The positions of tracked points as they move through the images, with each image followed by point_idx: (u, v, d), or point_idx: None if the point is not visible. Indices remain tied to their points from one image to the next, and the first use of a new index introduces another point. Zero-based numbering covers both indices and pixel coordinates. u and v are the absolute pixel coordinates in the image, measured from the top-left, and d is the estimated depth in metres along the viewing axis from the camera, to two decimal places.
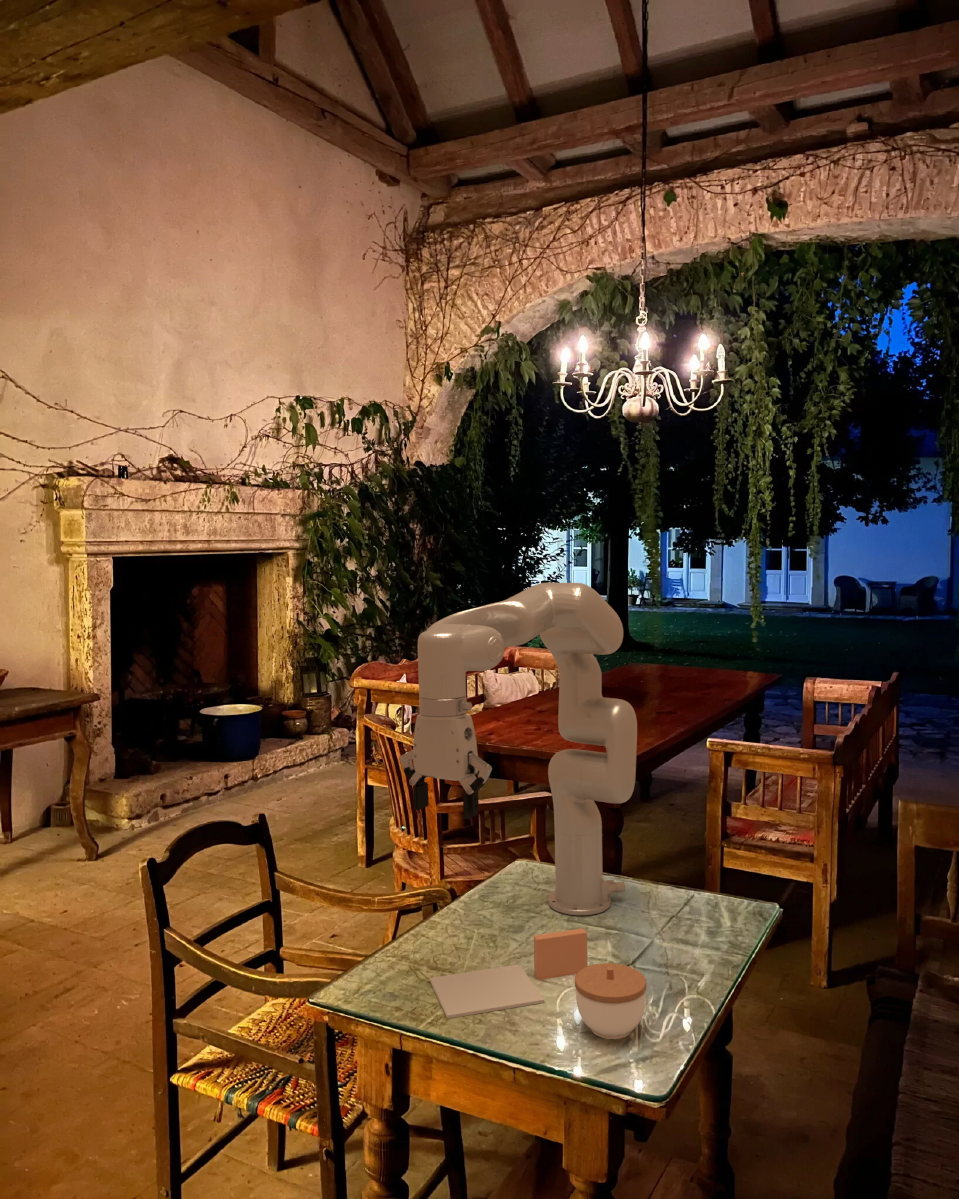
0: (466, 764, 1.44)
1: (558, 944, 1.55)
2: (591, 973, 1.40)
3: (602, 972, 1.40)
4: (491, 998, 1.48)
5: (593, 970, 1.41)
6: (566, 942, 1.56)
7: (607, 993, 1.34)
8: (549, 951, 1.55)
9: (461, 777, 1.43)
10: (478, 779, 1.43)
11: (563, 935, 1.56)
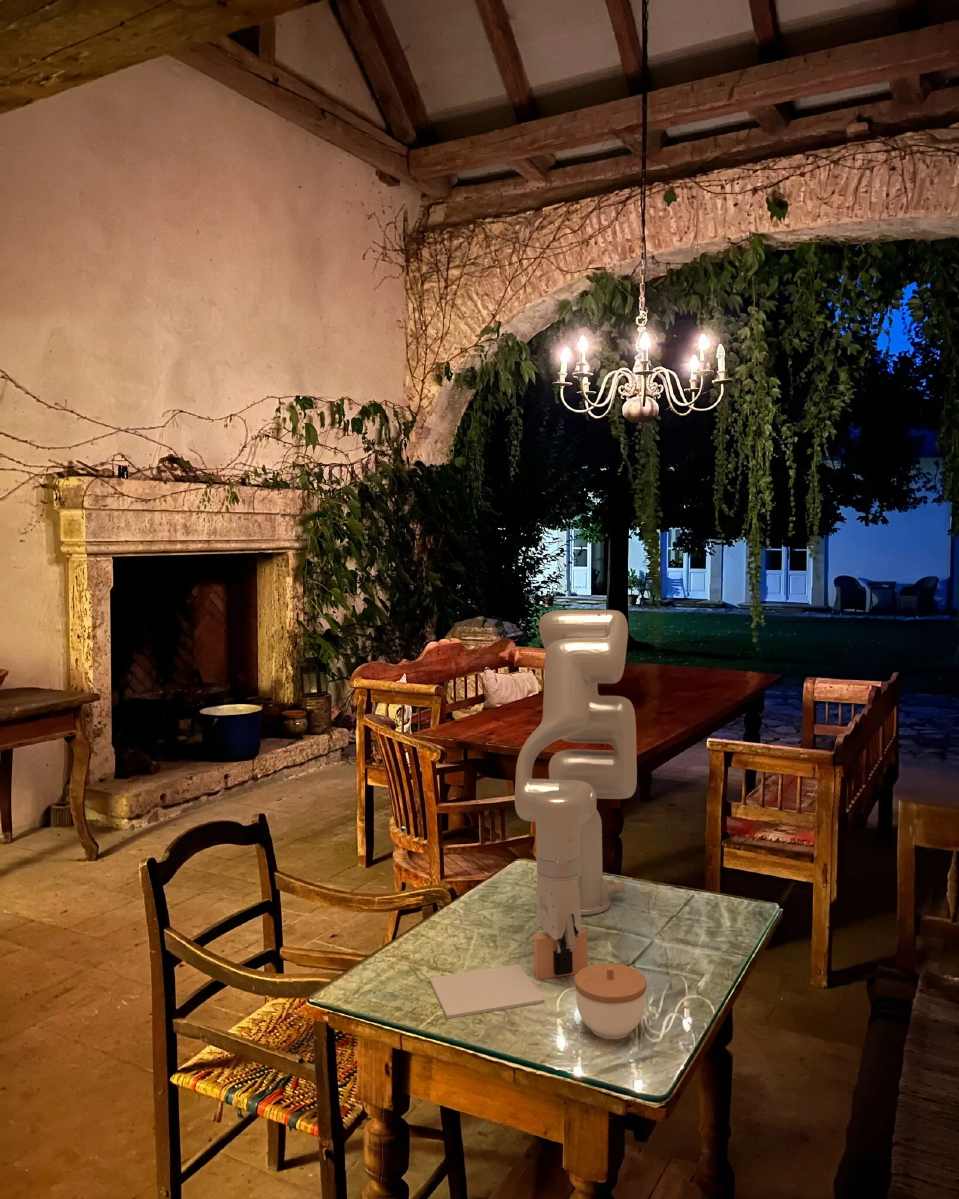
0: None
1: None
2: (591, 973, 1.40)
3: (602, 972, 1.40)
4: (491, 998, 1.48)
5: (593, 970, 1.41)
6: None
7: (607, 993, 1.34)
8: (549, 951, 1.55)
9: None
10: None
11: None
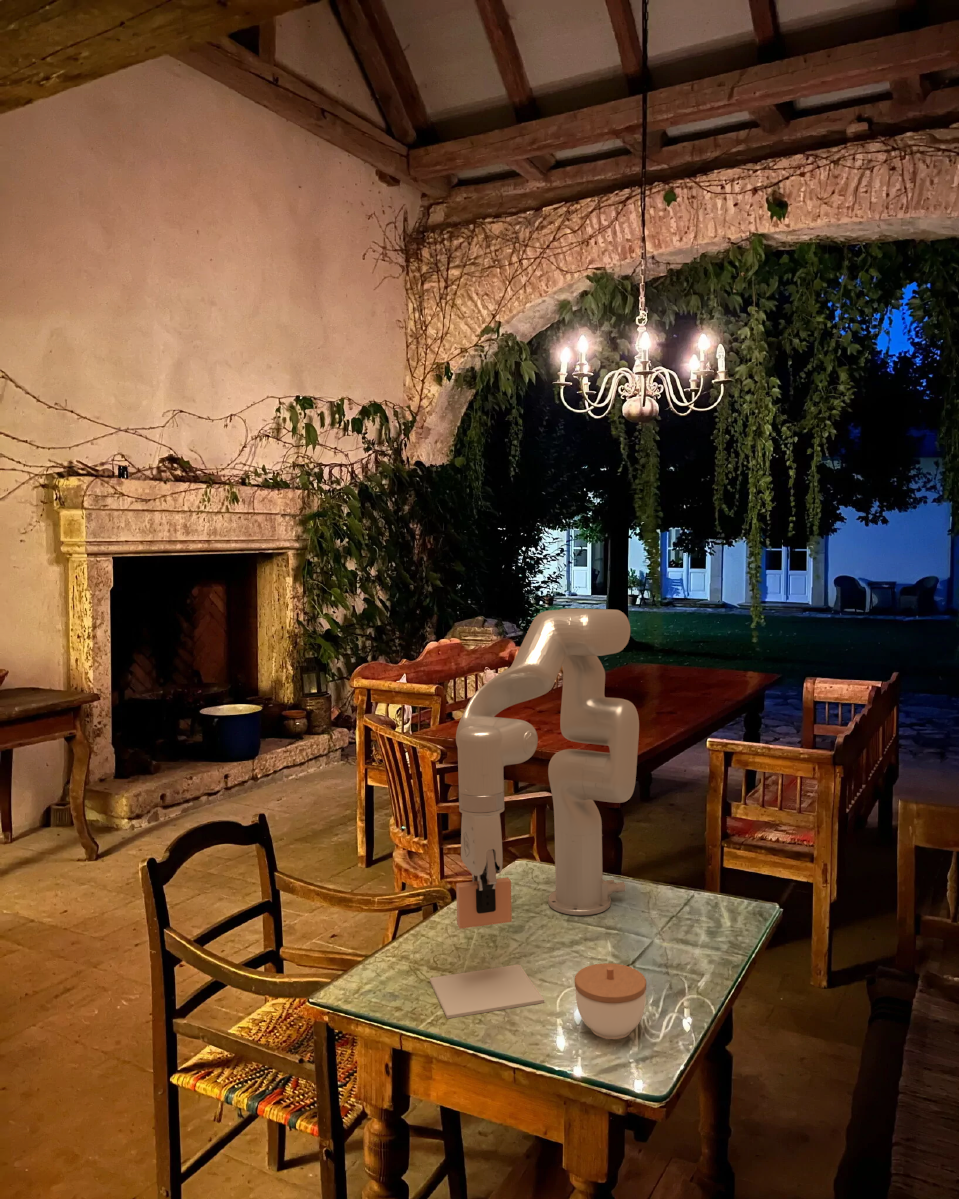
0: None
1: None
2: (591, 973, 1.40)
3: (602, 972, 1.40)
4: (491, 998, 1.48)
5: (593, 970, 1.41)
6: None
7: (607, 993, 1.34)
8: (472, 899, 1.52)
9: None
10: None
11: None
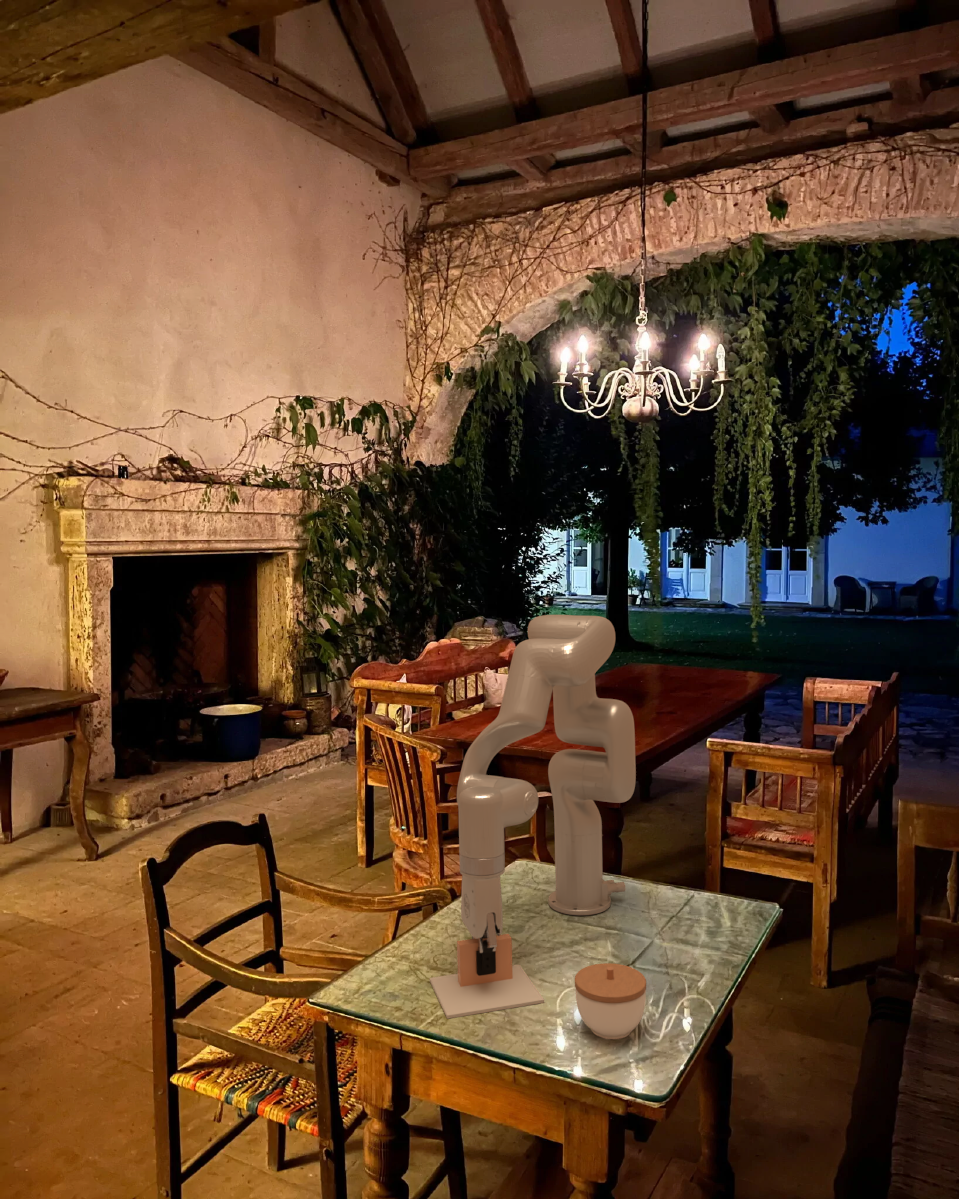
0: None
1: None
2: (591, 973, 1.40)
3: (602, 972, 1.40)
4: (491, 998, 1.48)
5: (593, 970, 1.41)
6: None
7: (607, 993, 1.34)
8: (472, 957, 1.52)
9: None
10: None
11: None
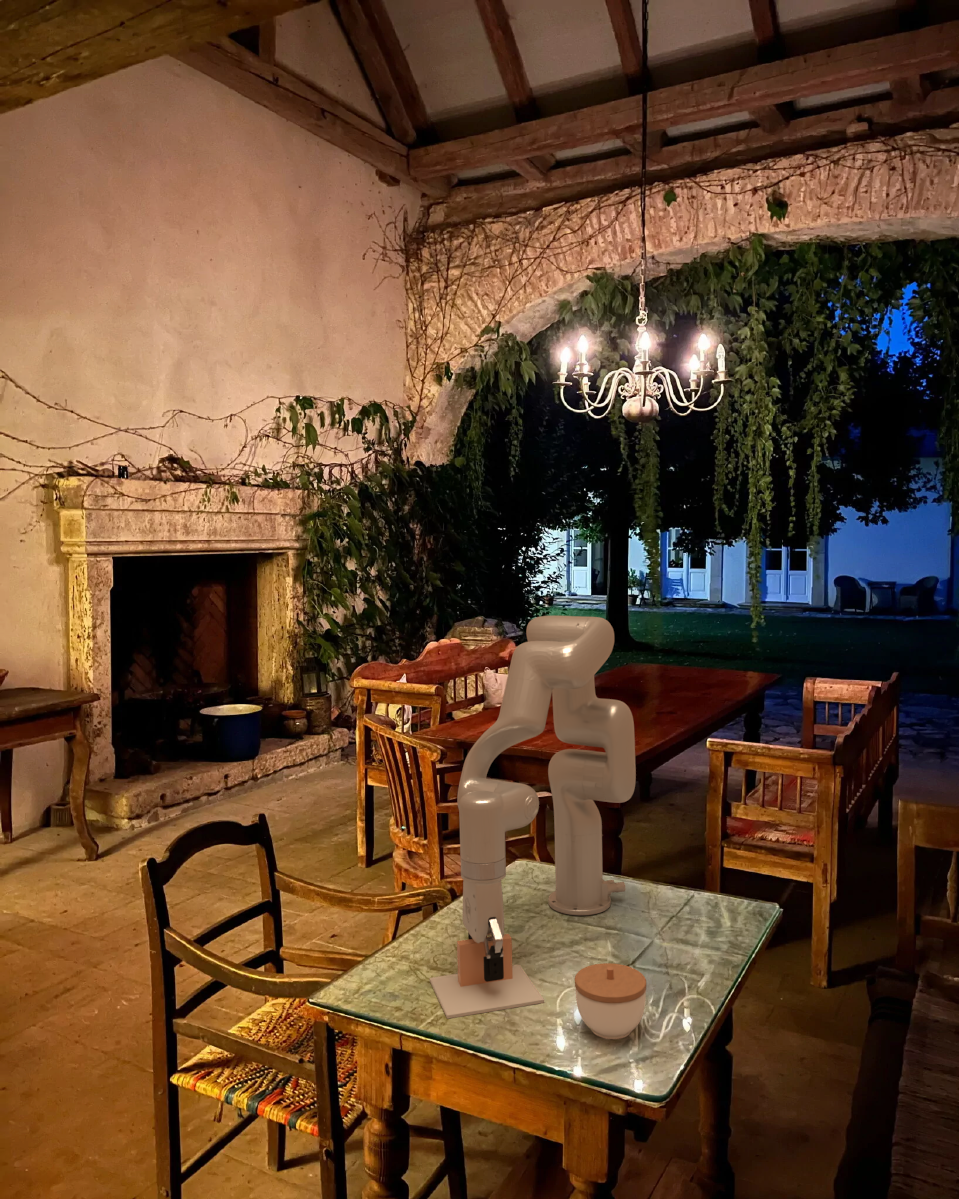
0: None
1: (481, 949, 1.53)
2: (591, 973, 1.40)
3: (602, 972, 1.40)
4: (491, 998, 1.48)
5: (593, 970, 1.41)
6: None
7: (607, 993, 1.34)
8: (472, 957, 1.52)
9: None
10: None
11: None
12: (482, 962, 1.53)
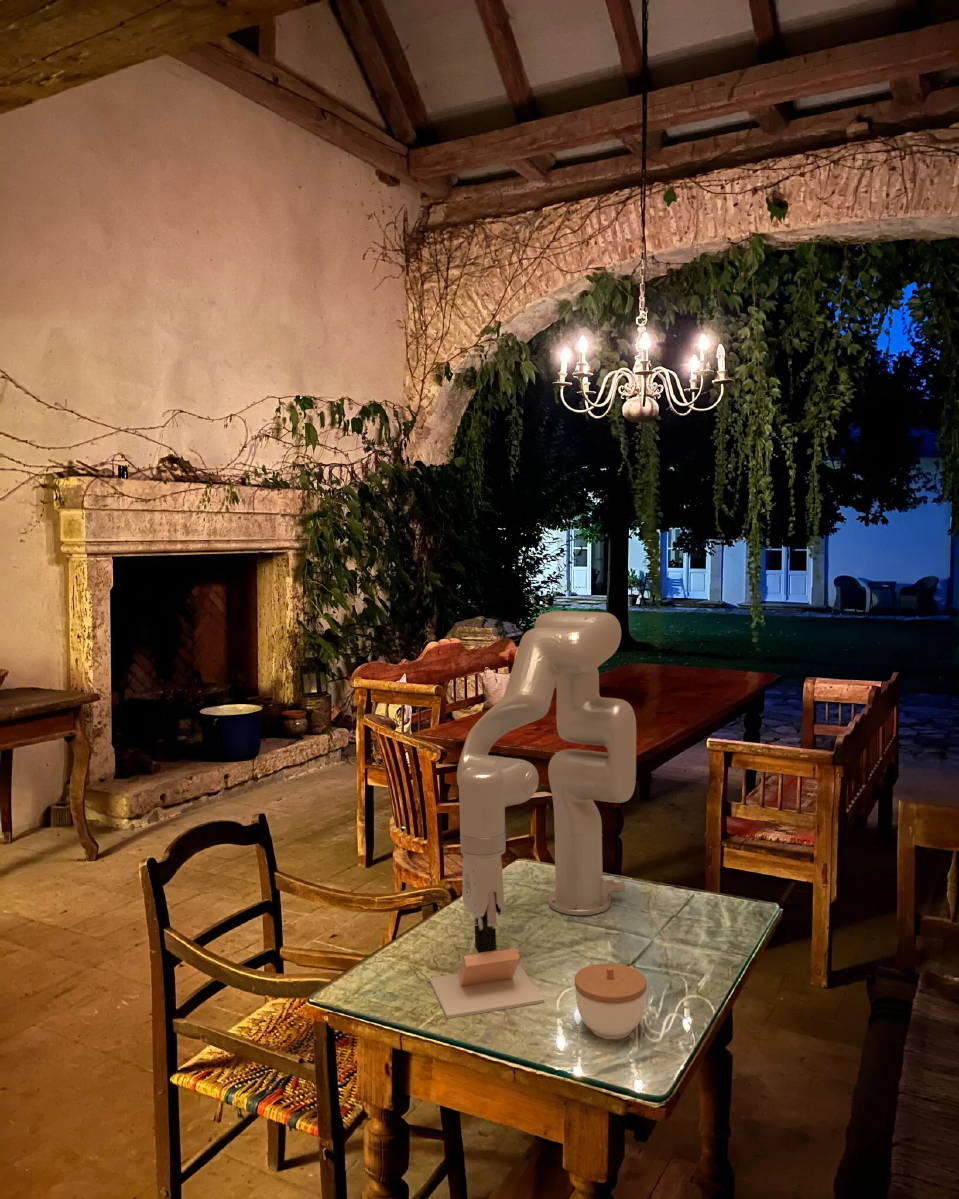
0: None
1: (487, 966, 1.49)
2: (591, 973, 1.40)
3: (602, 972, 1.40)
4: (491, 998, 1.48)
5: (593, 970, 1.41)
6: (496, 965, 1.50)
7: (607, 993, 1.34)
8: (477, 971, 1.50)
9: None
10: None
11: (495, 961, 1.49)
12: (486, 973, 1.51)
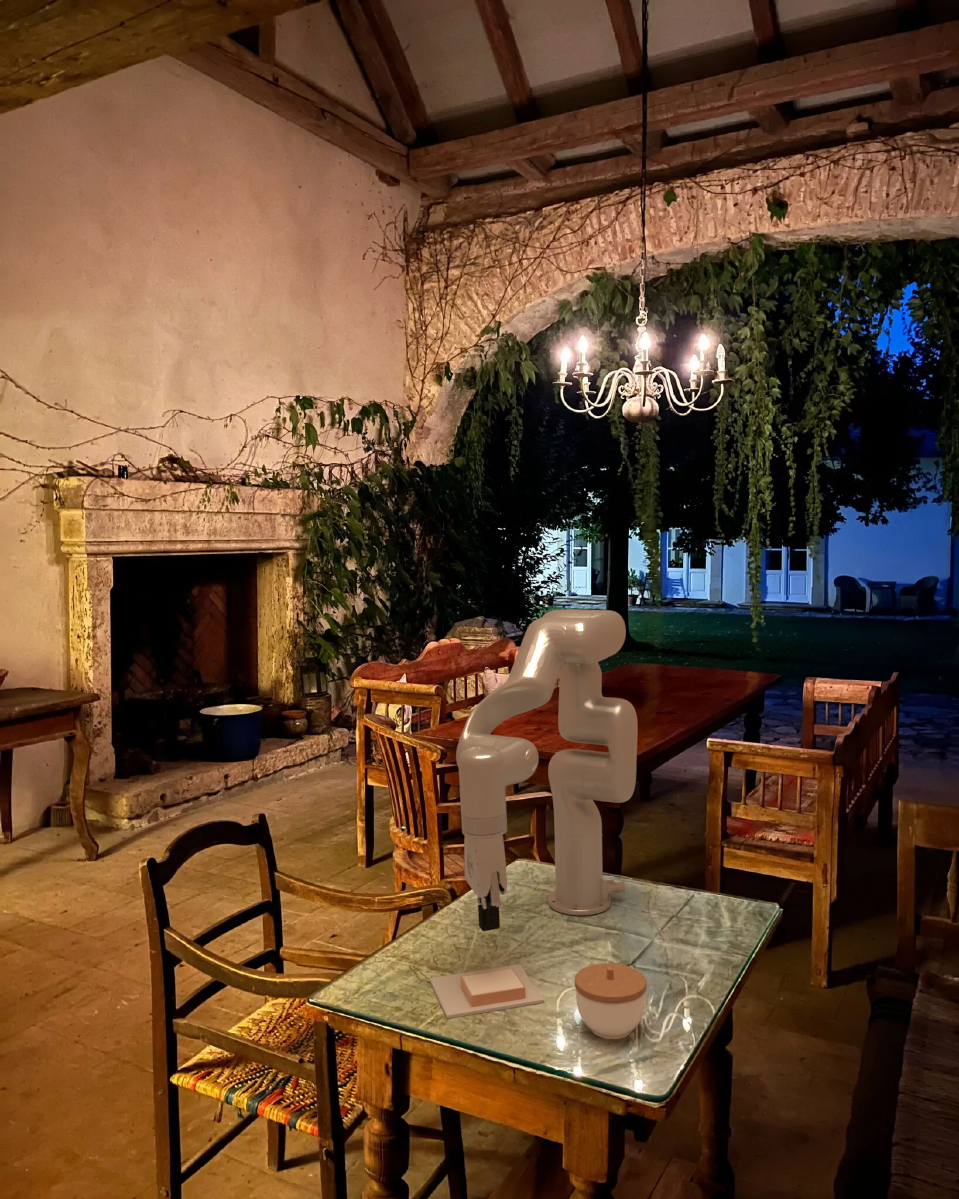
0: None
1: None
2: (591, 973, 1.40)
3: (602, 972, 1.40)
4: None
5: (593, 970, 1.41)
6: None
7: (607, 993, 1.34)
8: None
9: None
10: None
11: (500, 1002, 1.47)
12: None
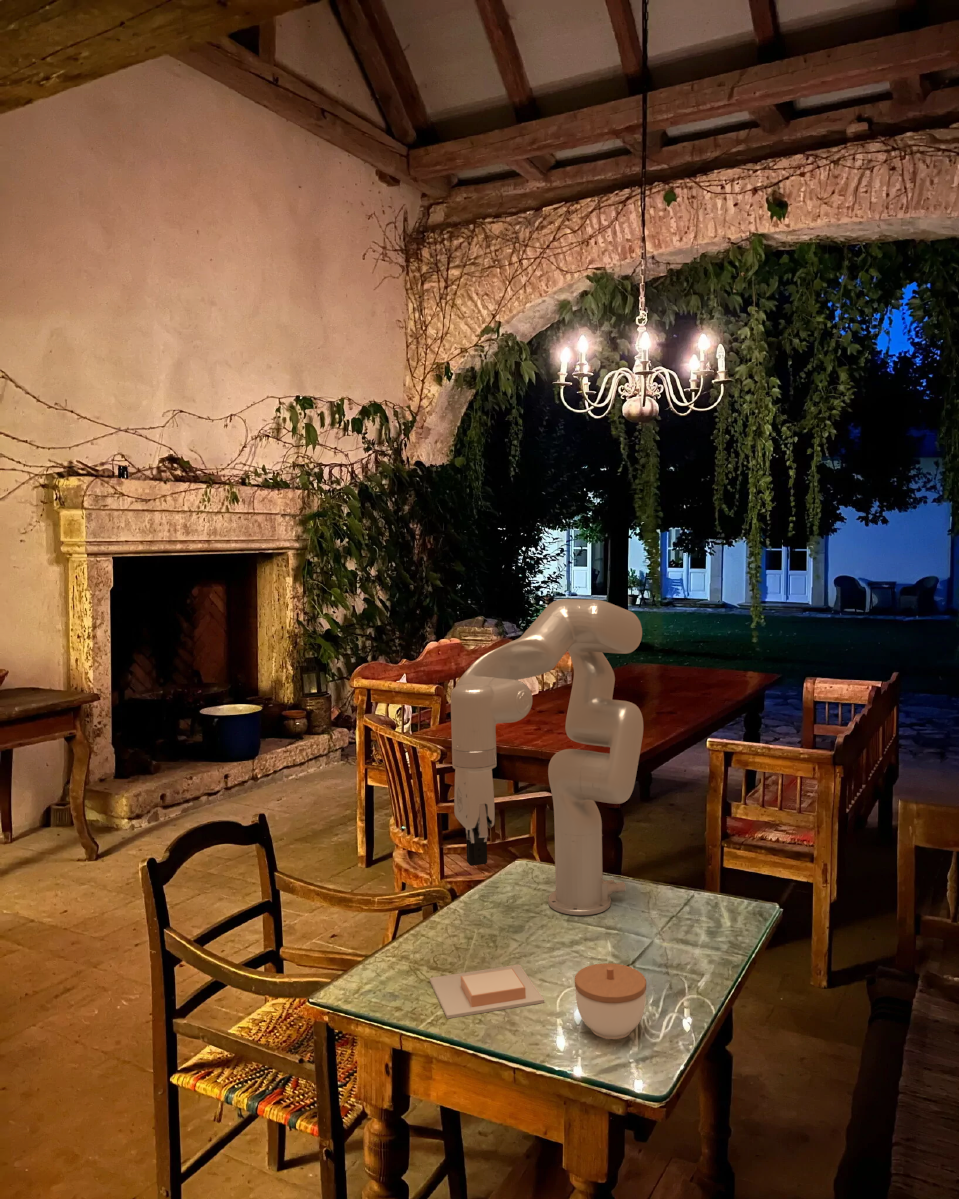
0: None
1: None
2: (591, 973, 1.40)
3: (602, 972, 1.40)
4: None
5: (593, 970, 1.41)
6: None
7: (607, 993, 1.34)
8: None
9: None
10: None
11: (500, 1002, 1.47)
12: None
